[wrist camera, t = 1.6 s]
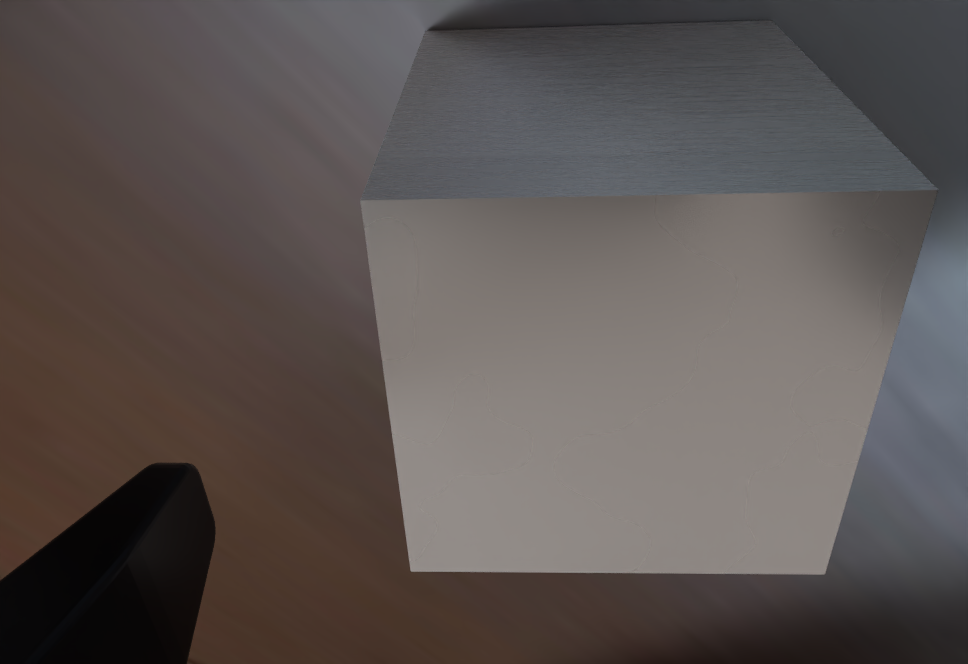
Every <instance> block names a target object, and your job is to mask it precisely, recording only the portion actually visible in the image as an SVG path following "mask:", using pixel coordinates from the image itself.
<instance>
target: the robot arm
mask: <svg viewBox="0 0 968 664" xmlns="http://www.w3.org/2000/svg"><path fill="white" fill-rule="evenodd" d="M214 543H215V521H214V517H213V514H212V511H211V508H210V504H209V501H208V498H207V495H206V492H205V489H204V486H203V483H202V480H201V476H200V474H199V472H198V470H197V468H196V467H195V466H194V465H192V464H189V463H155V464H151V465H149V466H147V467H146V468H144V469H143V470H142V471H140V472H139V473H138V474H137V475H135V476H134V477H133V478H131V479H130V480H129V481H128V482H126V483H125V484H124V485H122V486H121V487H120V488H119V489H117V490H116V491H115V492H113V493H112V494H111V495H110V496H108V497H107V498H106V499H105V500H103V501H102V502H101V503H99V504H98V505H97V506H96V507H94V508H93V509H92V510H90V511H89V512H88V513H87V514H85V515H84V516H83V517H81V518H80V519H79V520H78V521H76V522H75V523H74V524H72V525H71V526H70V527H69V528H67V529H66V530H65V531H63V532H62V533H61V534H60V535H58V536H57V537H56V538H54V539H53V540H52V541H51V542H49V543H48V544H47V545H45V546H44V547H43V548H42V549H40V550H39V551H38V552H36V553H35V554H34V555H33V556H31V557H30V558H29V559H27V560H26V561H25V562H24V563H22V564H21V565H20V566H18V567H17V568H16V569H15V570H13V571H12V572H11V573H9V574H8V575H7V576H6V577H4V578H3V579H2V580H0V664H187V660H188V656H189V652H190V647H191V643H192V639H193V634H194V630H195V626H196V621H197V617H198V613H199V608H200V604H201V600H202V595H203V591H204V587H205V582H206V578H207V574H208V569H209V565H210V561H211V556H212V552H213V548H214Z"/></svg>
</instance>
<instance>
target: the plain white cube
mask: <svg viewBox="0 0 968 664" xmlns="http://www.w3.org/2000/svg"><path fill="white" fill-rule="evenodd" d="M937 192H938V189H937V188H936V187H935V186H934V185H933V184H932V183H931V182H930V181H929V180H928V179H927V178H926V177H925V176H924V175H923V174H922V173H921V172H920V171H919V170H918V169H917V168H916V167H915V166H914V165H913V164H912V163H911V162H910V161H909V160H908V159H907V158H906V157H905V156H904V155H903V153H902V152H901V151H900V150H899V149H898V148H897V147H896V146H895V145H894V144H893V143H892V142H891V141H890V140H889V139H888V138H887V137H886V136H885V135H884V134H883V133H882V132H881V131H880V130H879V129H878V128H877V127H876V126H875V125H874V124H873V123H872V122H871V121H870V120H869V119H868V118H867V117H866V116H865V115H864V114H863V113H862V112H861V111H860V110H859V109H858V108H857V107H856V106H855V105H854V104H853V103H852V102H851V101H850V100H849V98H848V97H847V96H846V95H845V94H844V93H843V92H842V91H841V90H840V89H839V88H838V87H837V86H836V85H835V84H834V83H833V82H832V81H831V80H830V79H829V78H828V77H827V76H826V75H825V74H824V73H823V72H822V71H821V70H820V69H819V68H818V67H817V66H816V65H815V64H814V63H813V62H812V61H811V60H810V59H809V58H808V57H807V56H806V55H805V54H804V53H803V52H802V51H801V50H800V49H799V48H798V47H797V46H796V45H795V44H794V42H793V41H792V40H791V39H790V38H789V37H788V36H787V35H786V34H785V33H784V32H783V31H782V30H781V29H780V28H779V27H778V26H777V25H776V24H775V23H774V22H773V21H772V20H763V21H730V22H697V23H664V24H631V25H597V26H564V27H531V28H498V29H465V30H432V31H425V33H424V36H423V38H422V41H421V43H420V46H419V49H418V51H417V54H416V56H415V59H414V62H413V64H412V67H411V70H410V72H409V75H408V77H407V80H406V83H405V85H404V88H403V90H402V93H401V96H400V98H399V101H398V104H397V106H396V109H395V111H394V114H393V117H392V119H391V122H390V124H389V127H388V130H387V132H386V135H385V138H384V140H383V143H382V145H381V148H380V151H379V153H378V156H377V158H376V161H375V164H374V166H373V169H372V172H371V174H370V177H369V179H368V182H367V185H366V187H365V190H364V192H363V195H362V198H361V200H360V201H361V209H362V216H363V223H364V231H365V238H366V246H367V253H368V260H369V268H370V275H371V282H372V290H373V297H374V304H375V312H376V319H377V326H378V334H379V341H380V349H381V356H382V363H383V371H384V378H385V385H386V393H387V400H388V407H389V415H390V422H391V429H392V437H393V444H394V452H395V459H396V466H397V474H398V481H399V488H400V496H401V503H402V510H403V518H404V525H405V532H406V540H407V547H408V554H409V562H410V569H411V571H424V572H561V573H698V574H825V572H826V569H827V565H828V562H829V558H830V555H831V552H832V548H833V545H834V541H835V538H836V535H837V531H838V528H839V525H840V521H841V518H842V514H843V511H844V508H845V504H846V501H847V497H848V494H849V491H850V487H851V484H852V480H853V477H854V474H855V470H856V467H857V464H858V460H859V457H860V453H861V450H862V447H863V443H864V440H865V436H866V433H867V430H868V426H869V423H870V419H871V416H872V413H873V409H874V406H875V403H876V399H877V396H878V392H879V389H880V386H881V382H882V379H883V375H884V372H885V369H886V365H887V362H888V358H889V355H890V352H891V348H892V345H893V342H894V338H895V335H896V331H897V328H898V325H899V321H900V318H901V314H902V311H903V308H904V304H905V301H906V297H907V294H908V291H909V287H910V284H911V281H912V277H913V274H914V270H915V267H916V264H917V260H918V257H919V253H920V250H921V247H922V243H923V240H924V236H925V233H926V230H927V226H928V223H929V220H930V216H931V213H932V209H933V206H934V203H935V199H936V196H937Z"/></svg>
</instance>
